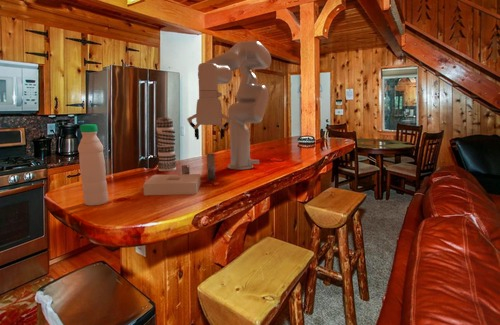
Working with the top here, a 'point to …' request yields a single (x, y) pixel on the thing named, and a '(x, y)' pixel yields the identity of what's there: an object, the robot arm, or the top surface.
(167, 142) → the decorative candle
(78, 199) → the top surface
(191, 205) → the top surface
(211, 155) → the long pin
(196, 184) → the hole board
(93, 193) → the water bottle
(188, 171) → the short pin
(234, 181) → the top surface
